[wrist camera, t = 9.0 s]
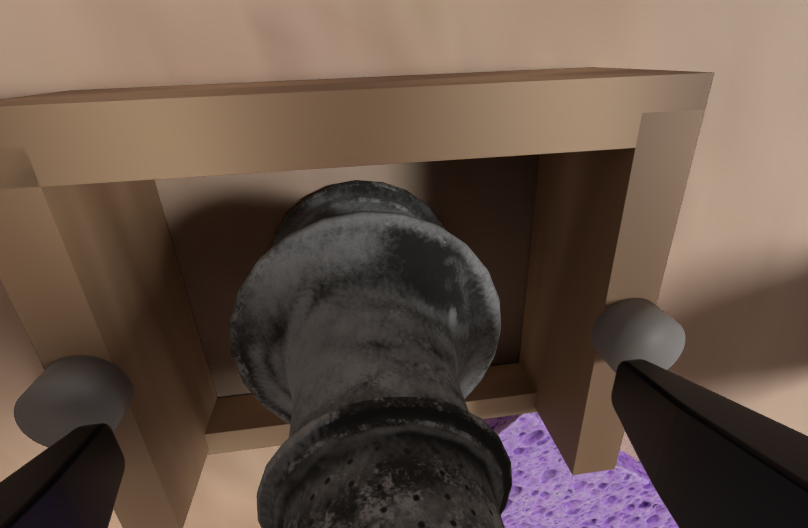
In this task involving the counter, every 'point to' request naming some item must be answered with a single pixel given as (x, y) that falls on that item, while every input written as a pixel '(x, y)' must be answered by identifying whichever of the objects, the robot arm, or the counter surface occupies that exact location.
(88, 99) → the holder
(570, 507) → the sponges
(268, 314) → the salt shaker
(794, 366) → the counter surface
